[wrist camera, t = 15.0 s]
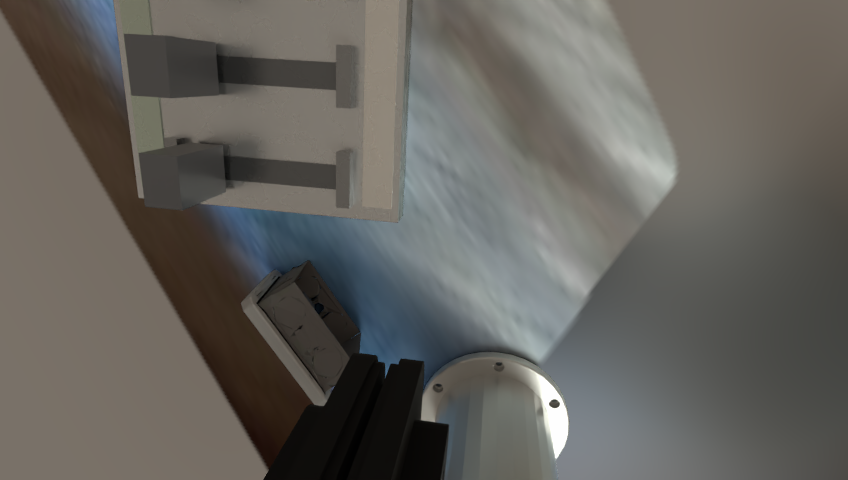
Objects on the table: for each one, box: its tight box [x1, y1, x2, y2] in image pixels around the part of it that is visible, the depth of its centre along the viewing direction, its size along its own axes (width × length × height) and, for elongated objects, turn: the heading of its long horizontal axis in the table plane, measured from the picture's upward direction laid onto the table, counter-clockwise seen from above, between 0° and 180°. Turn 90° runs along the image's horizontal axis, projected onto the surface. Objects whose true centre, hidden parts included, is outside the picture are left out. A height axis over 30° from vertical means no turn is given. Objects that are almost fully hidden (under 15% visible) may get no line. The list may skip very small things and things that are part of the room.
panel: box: [113, 0, 412, 223], centre depth 35 cm, size 20×21×3 cm
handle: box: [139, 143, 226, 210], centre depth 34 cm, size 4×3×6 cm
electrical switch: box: [241, 261, 361, 406], centre depth 38 cm, size 9×5×9 cm, turn 33°
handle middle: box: [124, 34, 219, 98], centre depth 32 cm, size 4×3×6 cm
